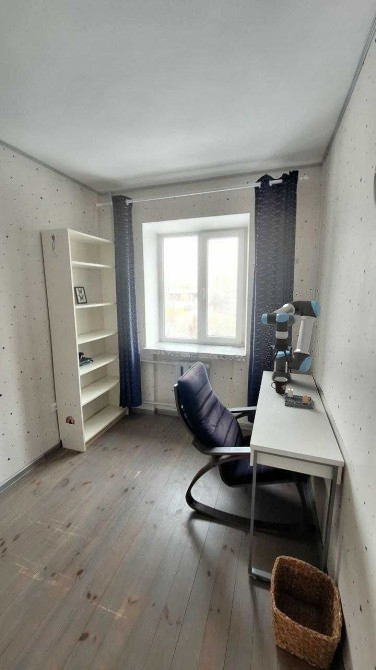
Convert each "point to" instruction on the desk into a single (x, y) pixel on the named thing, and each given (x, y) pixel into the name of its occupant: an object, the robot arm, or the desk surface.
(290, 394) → the fader cream
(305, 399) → the fader terracotta
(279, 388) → the coffee mug
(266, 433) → the desk surface
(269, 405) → the desk surface
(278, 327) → the robot arm
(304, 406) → the console
